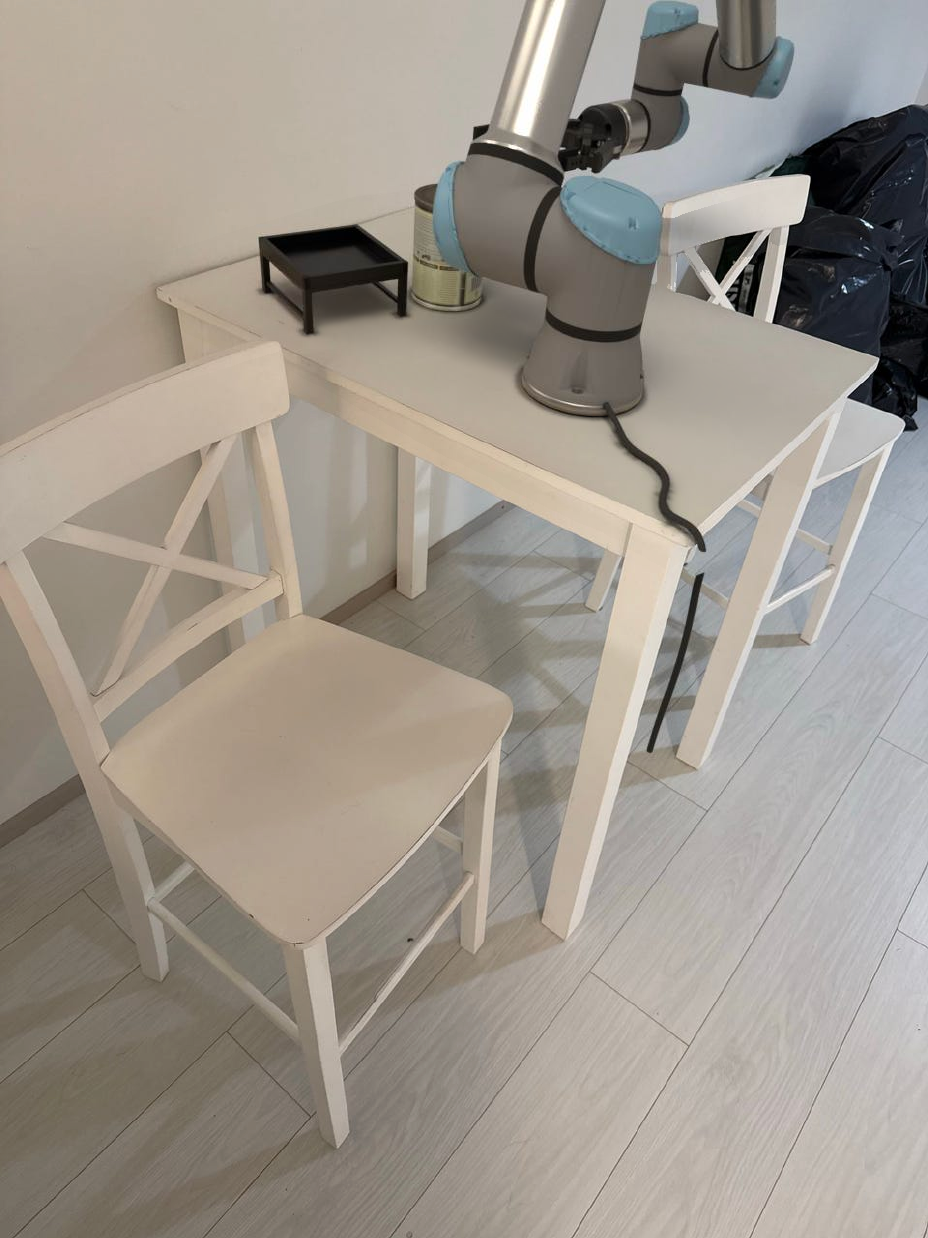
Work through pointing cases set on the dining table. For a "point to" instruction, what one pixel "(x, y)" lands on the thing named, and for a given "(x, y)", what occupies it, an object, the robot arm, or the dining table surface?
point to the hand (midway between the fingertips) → (507, 151)
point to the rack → (331, 265)
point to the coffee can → (437, 265)
